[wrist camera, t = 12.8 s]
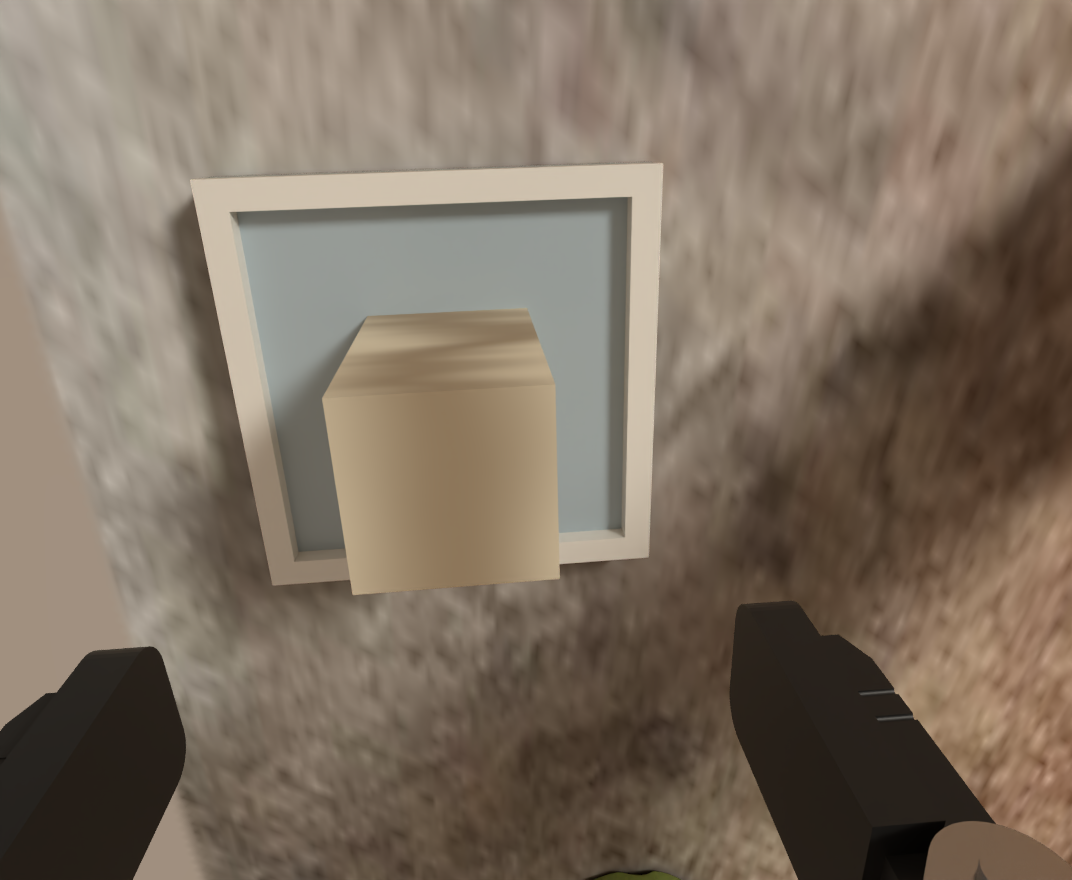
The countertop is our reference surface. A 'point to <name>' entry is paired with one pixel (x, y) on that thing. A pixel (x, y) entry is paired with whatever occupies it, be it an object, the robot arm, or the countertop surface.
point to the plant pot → (638, 876)
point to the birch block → (445, 452)
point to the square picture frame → (429, 287)
